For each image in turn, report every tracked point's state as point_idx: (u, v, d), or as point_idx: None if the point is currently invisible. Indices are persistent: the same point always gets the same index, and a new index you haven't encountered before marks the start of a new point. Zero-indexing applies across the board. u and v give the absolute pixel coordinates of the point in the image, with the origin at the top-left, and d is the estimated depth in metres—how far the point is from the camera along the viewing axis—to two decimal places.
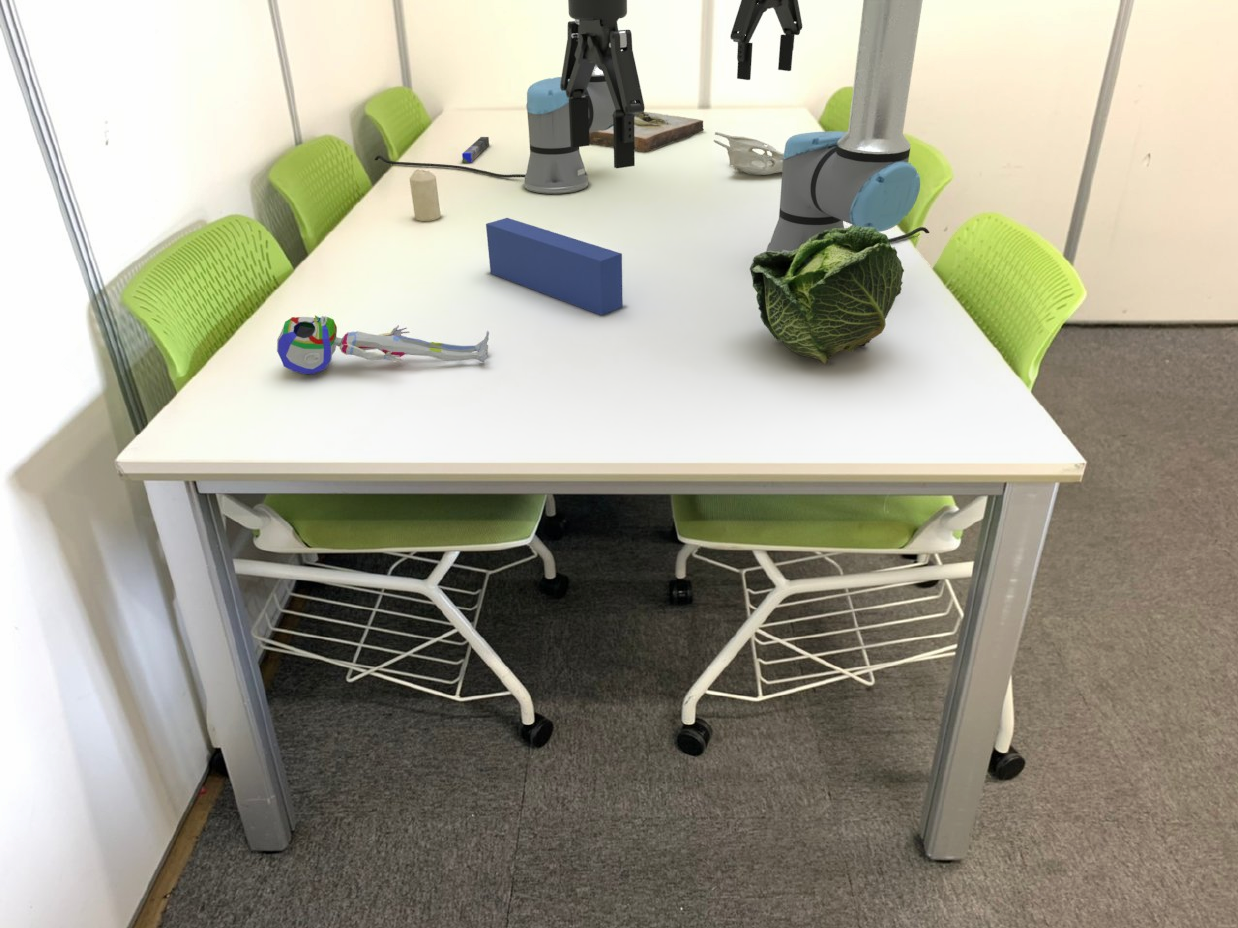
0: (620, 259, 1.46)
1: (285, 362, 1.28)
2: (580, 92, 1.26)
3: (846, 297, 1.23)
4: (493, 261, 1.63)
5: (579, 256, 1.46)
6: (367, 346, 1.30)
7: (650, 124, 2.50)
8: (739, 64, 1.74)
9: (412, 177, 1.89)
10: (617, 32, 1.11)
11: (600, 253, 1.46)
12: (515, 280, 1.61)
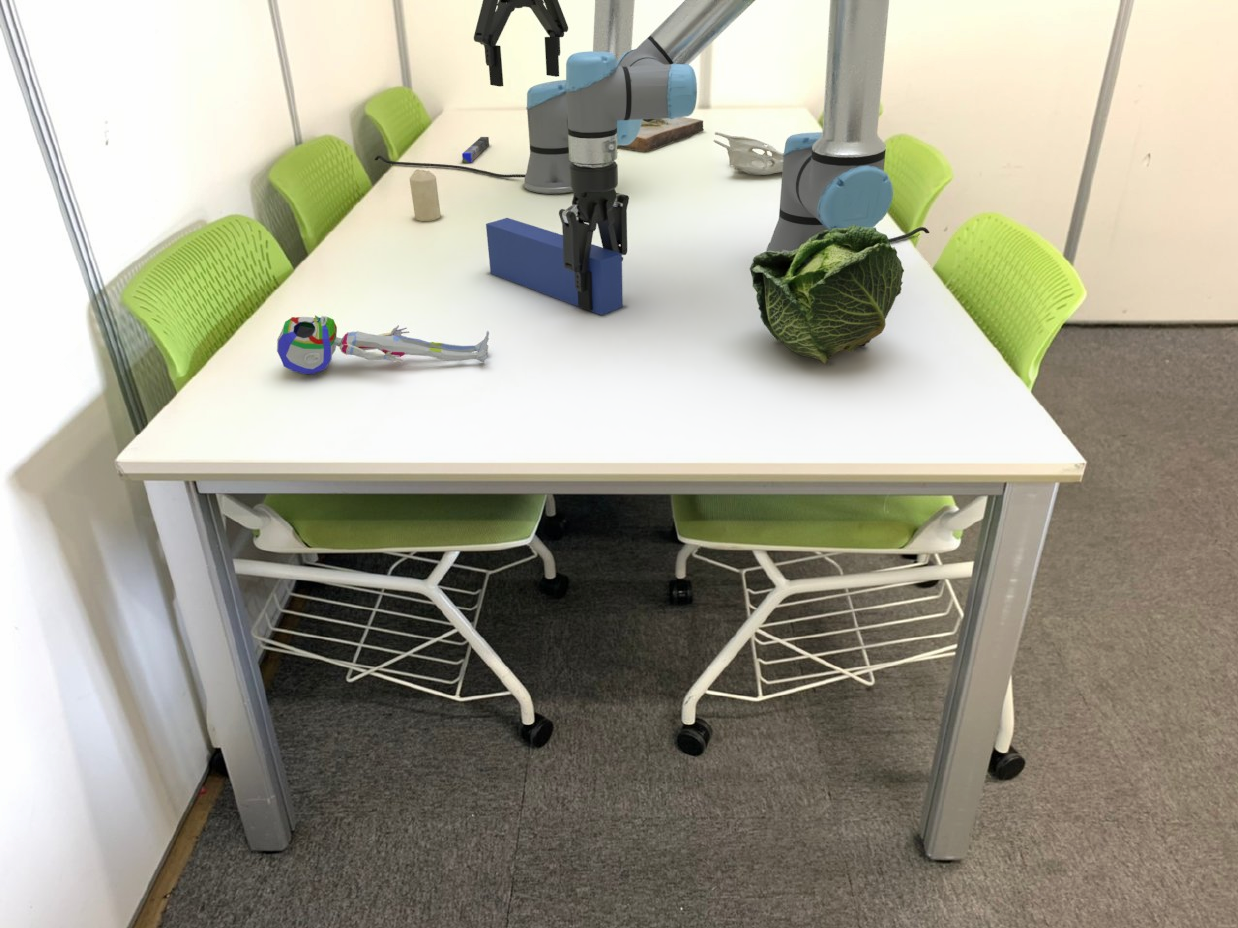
0: (620, 259, 1.46)
1: (285, 362, 1.28)
2: None
3: (846, 297, 1.23)
4: (493, 261, 1.63)
5: None
6: (367, 346, 1.30)
7: (650, 124, 2.50)
8: (490, 69, 1.58)
9: (412, 177, 1.89)
10: None
11: (600, 253, 1.46)
12: (515, 280, 1.61)
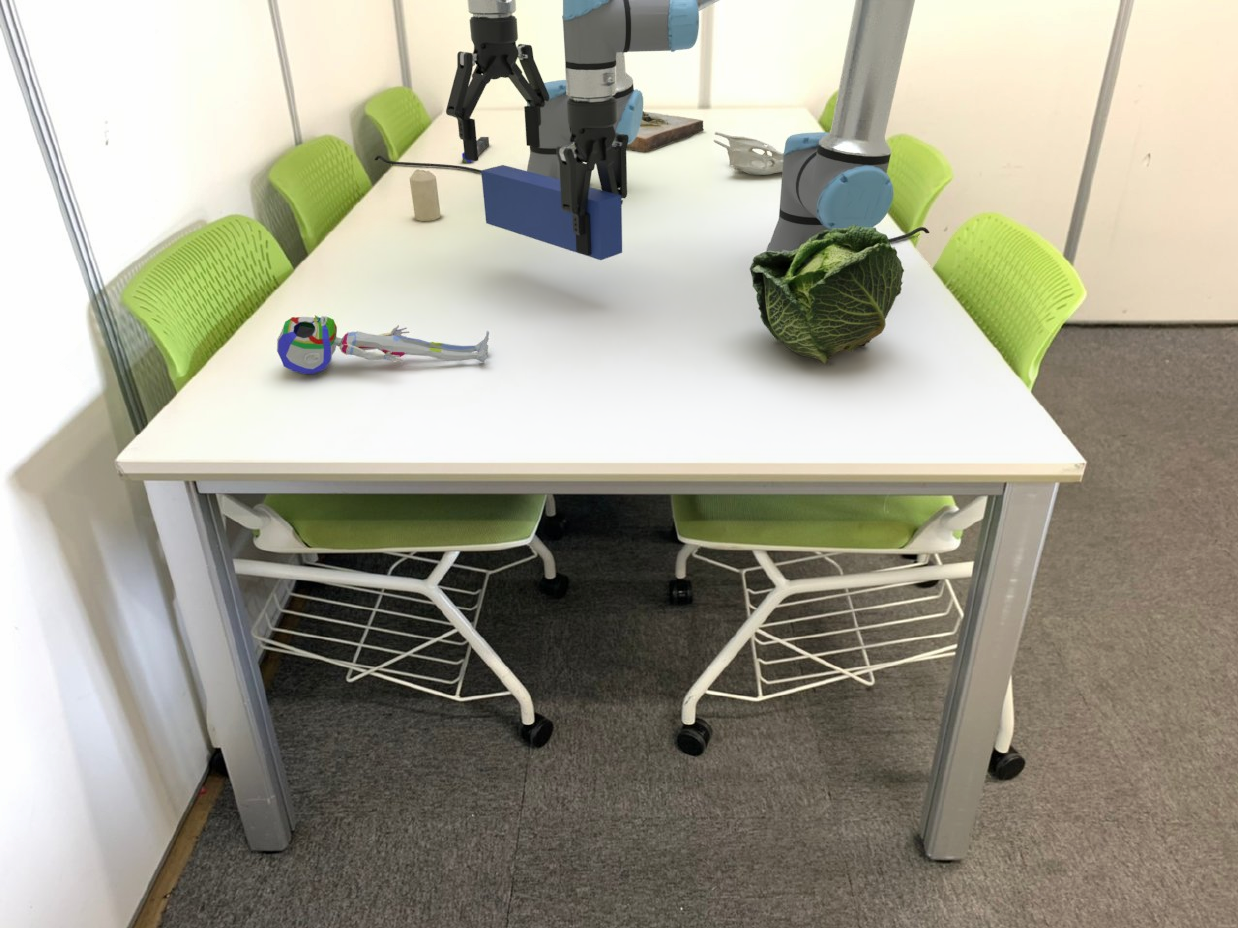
0: (619, 201, 1.41)
1: (285, 362, 1.28)
2: None
3: (846, 297, 1.23)
4: (489, 210, 1.58)
5: None
6: (367, 346, 1.30)
7: (650, 124, 2.50)
8: (464, 143, 1.49)
9: (412, 177, 1.89)
10: None
11: (598, 195, 1.41)
12: (512, 228, 1.56)
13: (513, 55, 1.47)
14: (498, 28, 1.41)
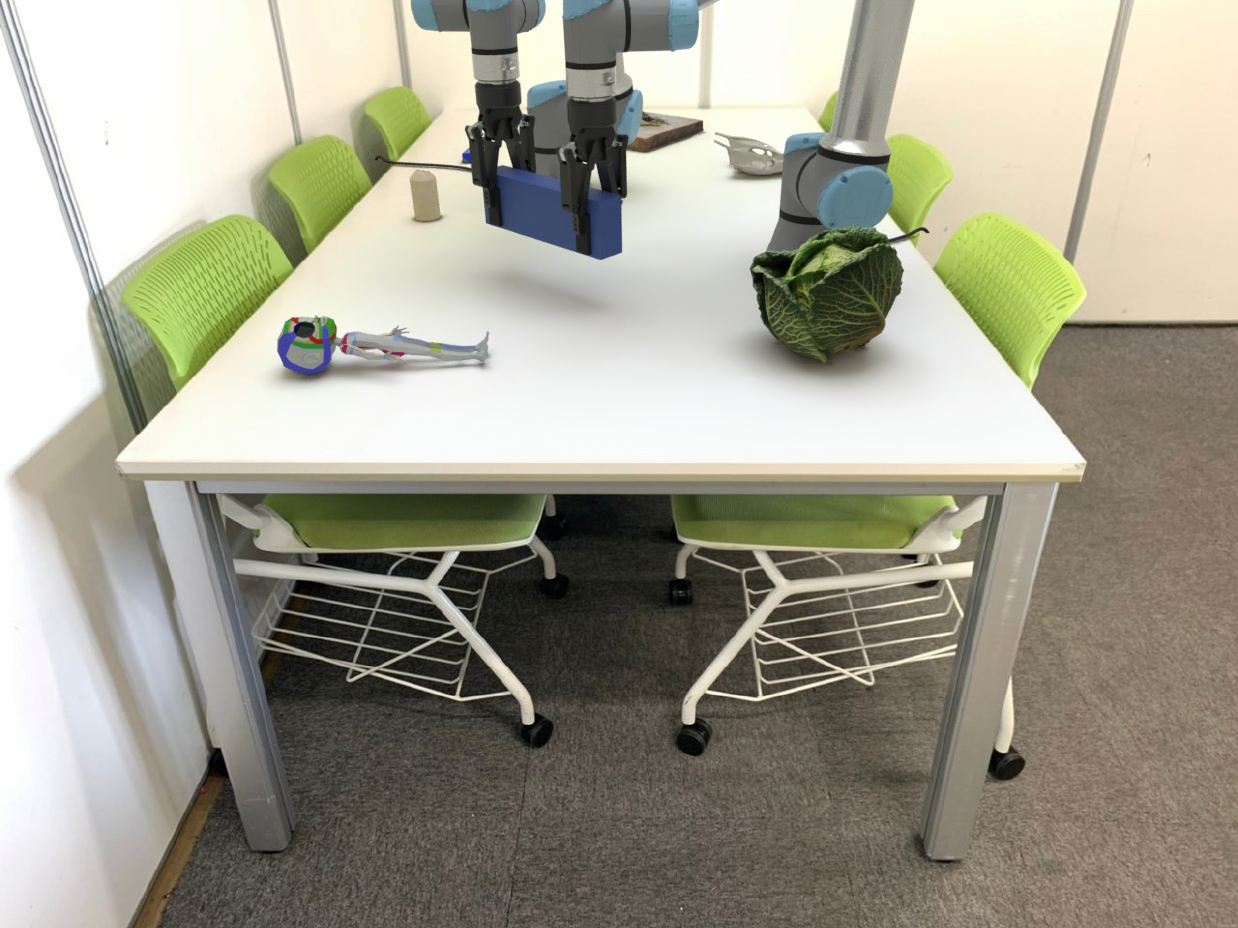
0: (619, 201, 1.41)
1: (285, 362, 1.28)
2: None
3: (846, 297, 1.23)
4: None
5: None
6: (367, 346, 1.30)
7: (650, 124, 2.50)
8: (489, 209, 1.57)
9: (412, 177, 1.89)
10: None
11: (598, 195, 1.41)
12: (512, 228, 1.56)
13: (516, 116, 1.51)
14: (502, 94, 1.45)
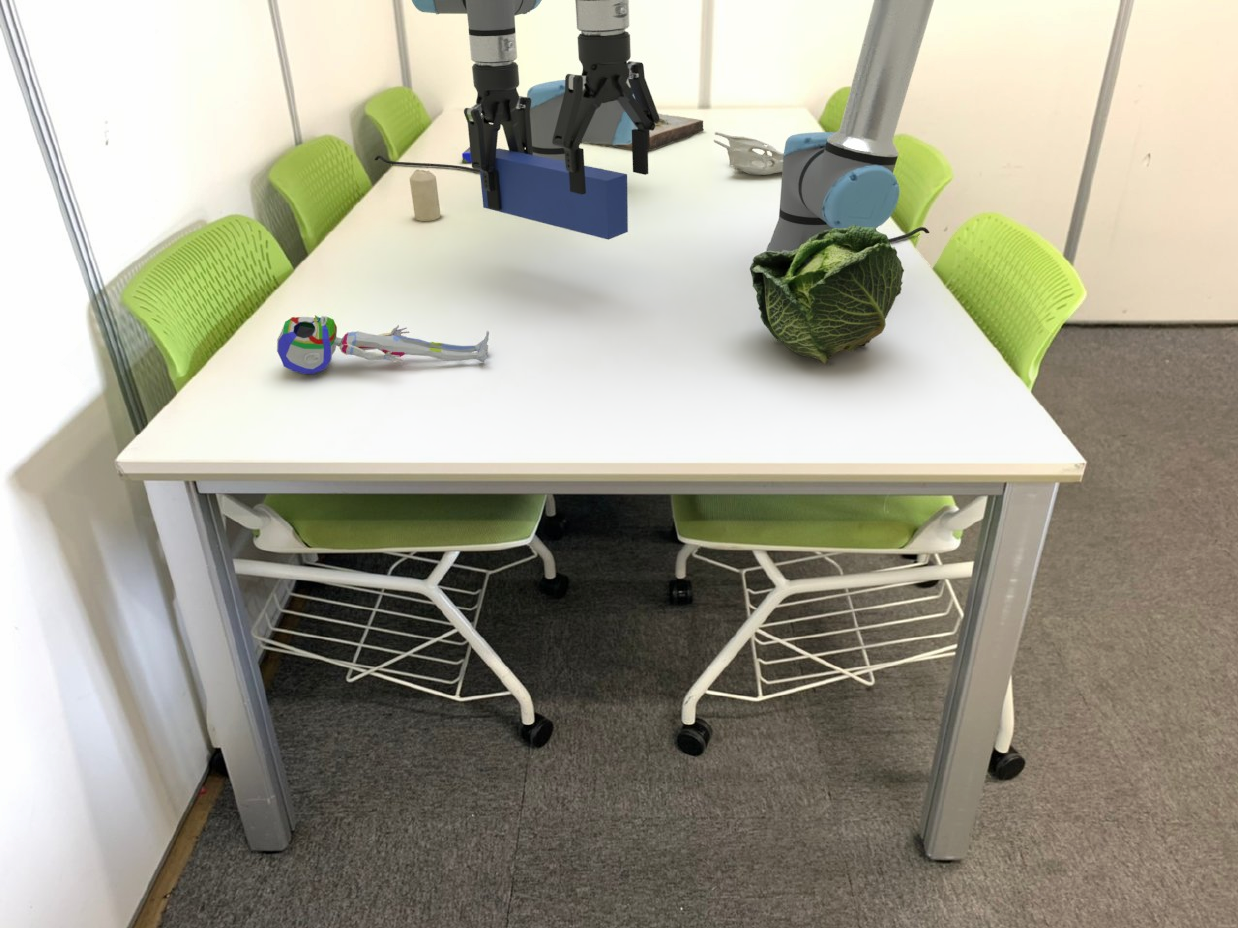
0: (625, 180, 1.42)
1: (285, 362, 1.28)
2: None
3: (846, 297, 1.23)
4: (486, 194, 1.57)
5: None
6: (367, 346, 1.30)
7: None
8: (488, 193, 1.56)
9: (412, 177, 1.89)
10: None
11: (604, 174, 1.42)
12: (512, 211, 1.55)
13: (514, 98, 1.51)
14: (501, 75, 1.44)
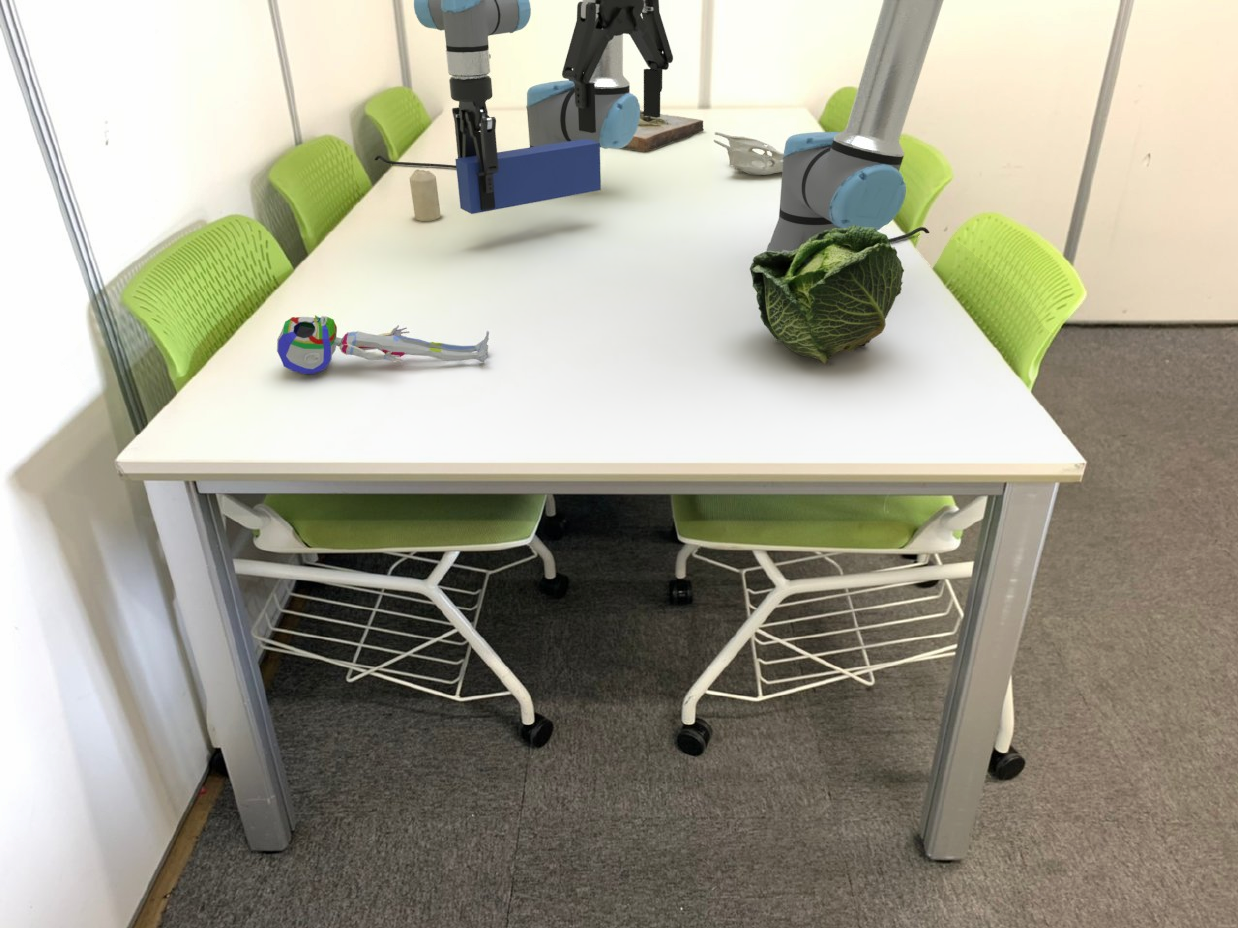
0: None
1: (285, 362, 1.28)
2: None
3: (846, 297, 1.23)
4: (476, 199, 1.69)
5: (579, 147, 1.77)
6: (367, 346, 1.30)
7: (650, 124, 2.50)
8: (483, 196, 1.69)
9: (412, 177, 1.89)
10: None
11: (581, 142, 1.80)
12: (505, 204, 1.73)
13: None
14: (491, 84, 1.62)
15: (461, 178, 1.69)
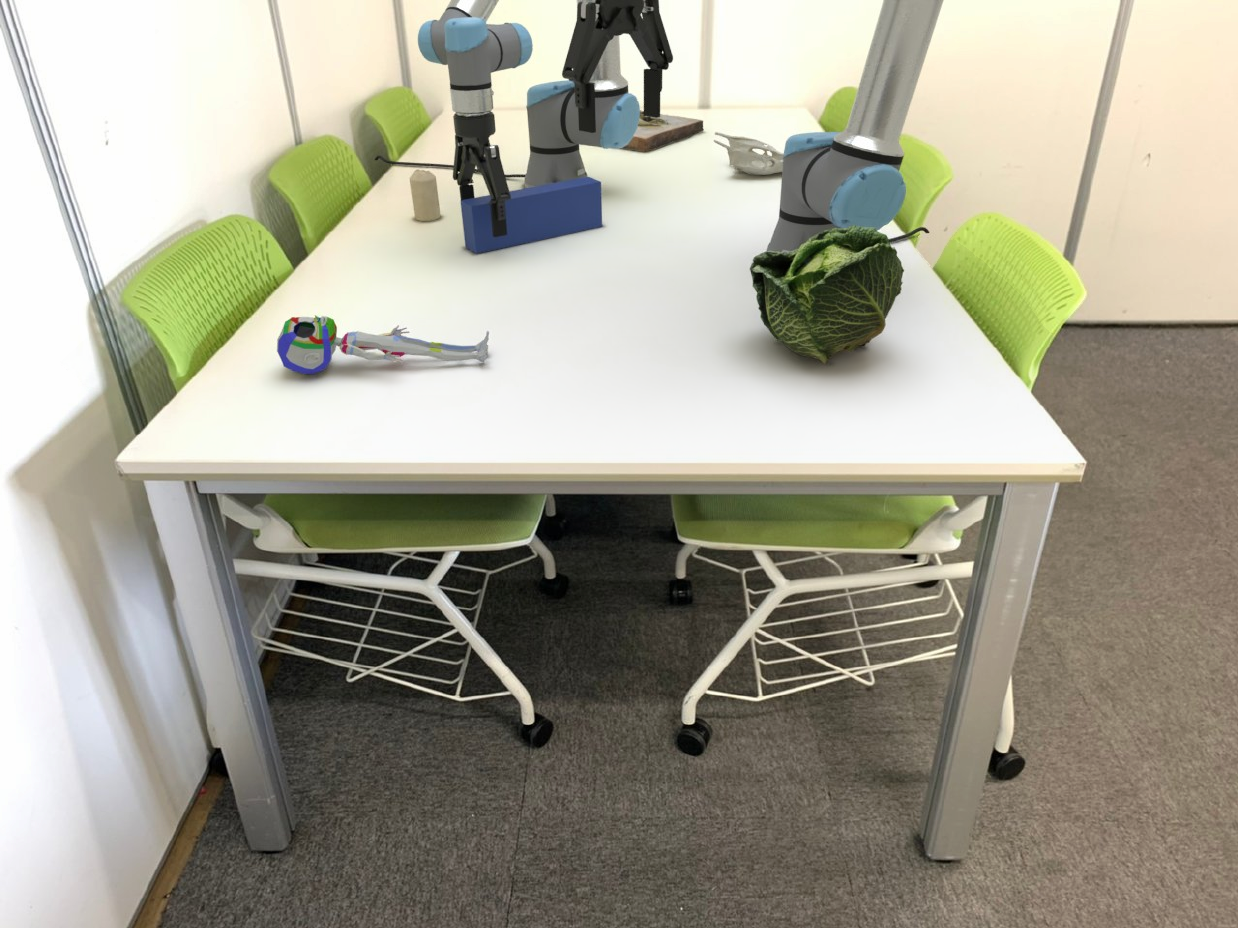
0: None
1: (285, 362, 1.28)
2: None
3: (846, 297, 1.23)
4: (480, 240, 1.74)
5: (581, 187, 1.81)
6: (367, 346, 1.30)
7: (650, 124, 2.50)
8: (495, 223, 1.69)
9: (412, 177, 1.89)
10: None
11: (583, 181, 1.84)
12: (509, 243, 1.78)
13: None
14: (494, 120, 1.65)
15: (466, 219, 1.73)
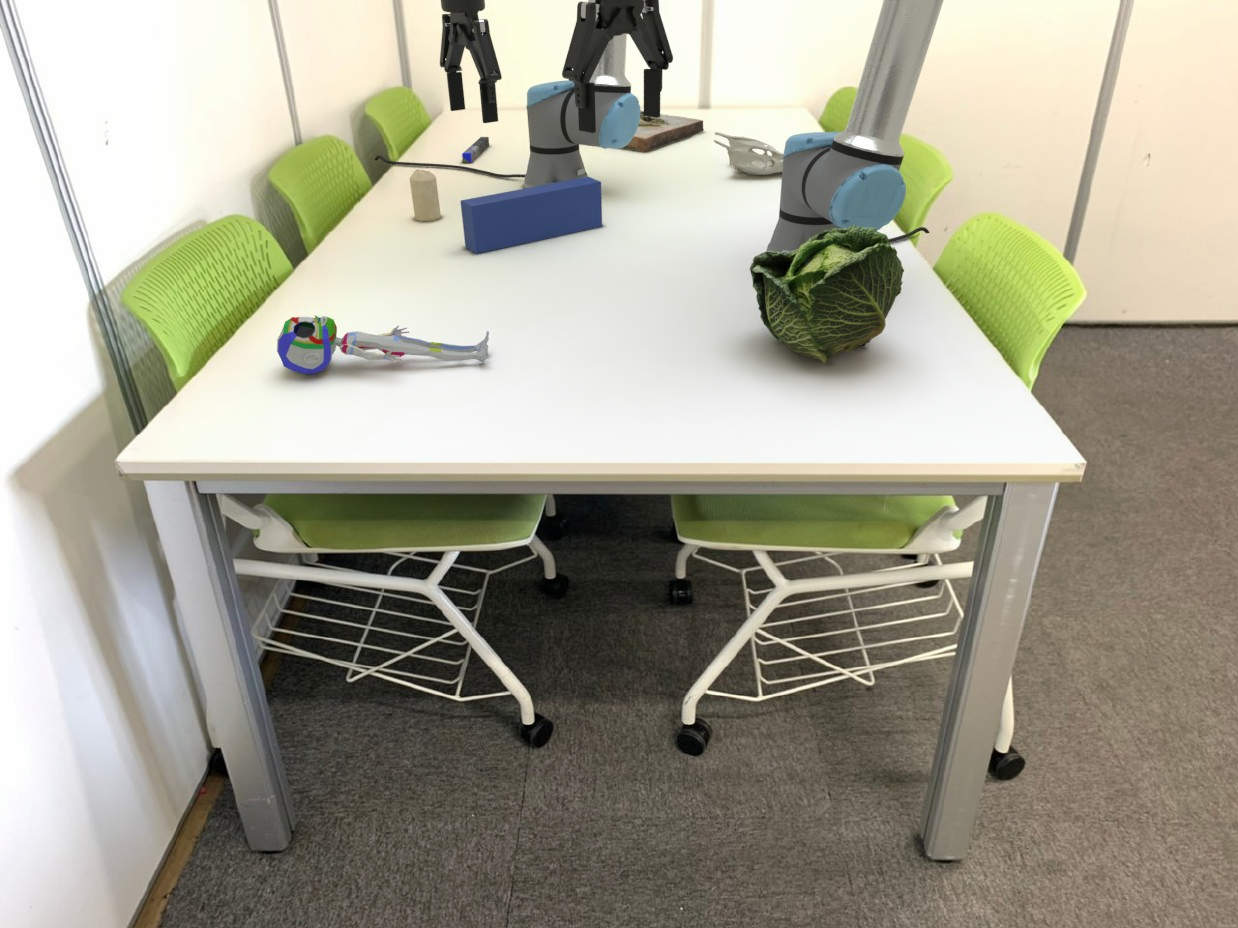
0: None
1: (285, 362, 1.28)
2: None
3: (846, 297, 1.23)
4: (480, 240, 1.74)
5: (581, 187, 1.81)
6: (367, 346, 1.30)
7: (650, 124, 2.50)
8: (485, 107, 1.58)
9: (412, 177, 1.89)
10: None
11: (583, 181, 1.84)
12: (509, 243, 1.78)
13: None
14: None
15: (466, 219, 1.73)
